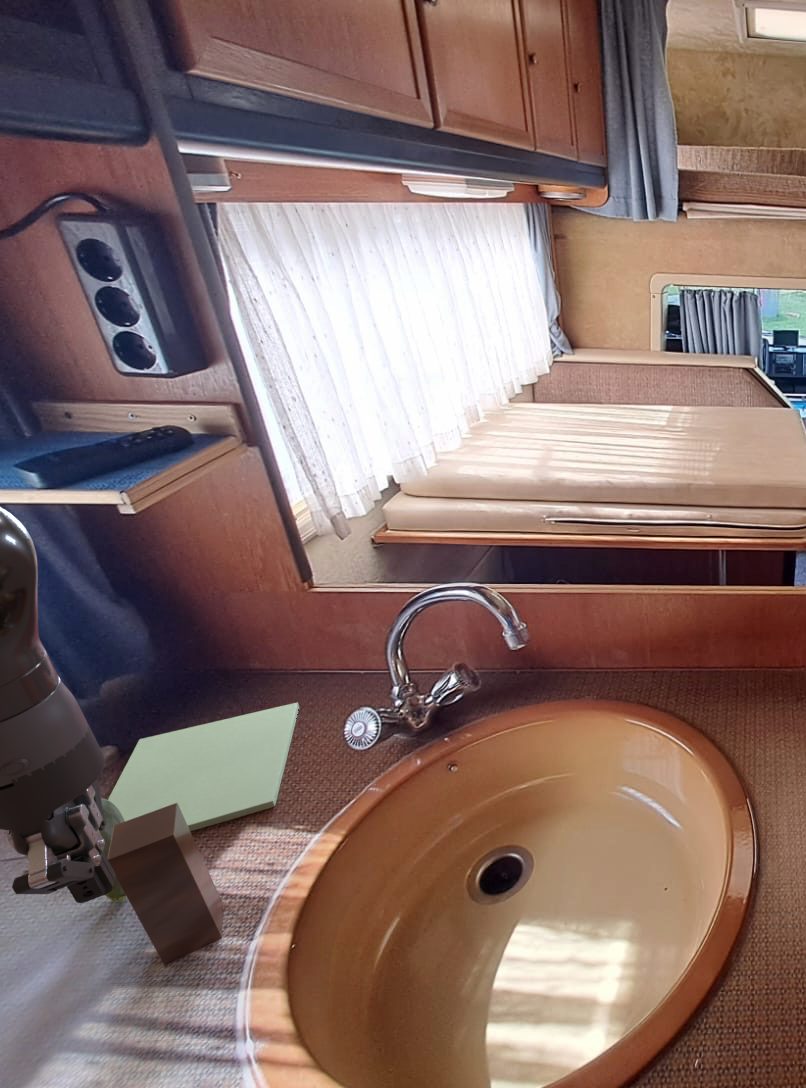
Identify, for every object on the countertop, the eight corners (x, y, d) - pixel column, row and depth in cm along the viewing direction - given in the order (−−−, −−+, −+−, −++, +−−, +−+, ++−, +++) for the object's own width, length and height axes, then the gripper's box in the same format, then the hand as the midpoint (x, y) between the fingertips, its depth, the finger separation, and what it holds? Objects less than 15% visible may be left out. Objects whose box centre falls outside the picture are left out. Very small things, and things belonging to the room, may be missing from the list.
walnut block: (164, 965, 71) (106, 860, 64) (168, 928, 74) (114, 825, 67) (222, 938, 74) (173, 834, 67) (223, 903, 77) (177, 802, 70)
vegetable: (148, 871, 80) (91, 758, 72) (161, 890, 78) (104, 776, 70) (100, 900, 76) (34, 784, 69) (112, 920, 74) (46, 803, 67)
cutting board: (80, 863, 80) (77, 857, 80) (142, 744, 98) (139, 739, 97) (275, 806, 90) (273, 800, 89) (299, 707, 107) (297, 702, 107)
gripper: (-33, 713, 50) (53, 855, 57) (-102, 836, 41) (10, 989, 48) (101, 679, 54) (166, 815, 61) (66, 783, 45) (147, 930, 52)
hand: (98, 891), depth 54 cm, fingers closed
